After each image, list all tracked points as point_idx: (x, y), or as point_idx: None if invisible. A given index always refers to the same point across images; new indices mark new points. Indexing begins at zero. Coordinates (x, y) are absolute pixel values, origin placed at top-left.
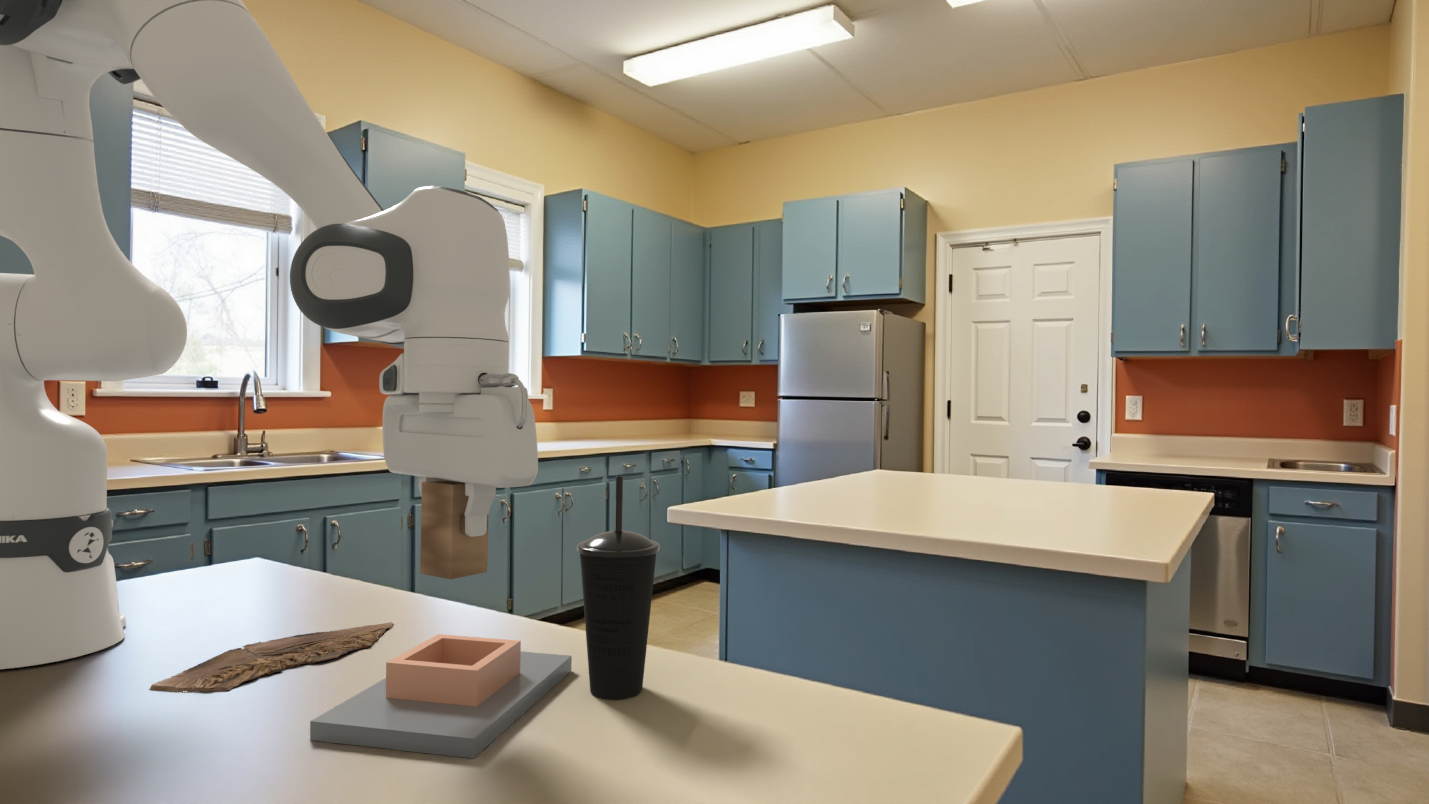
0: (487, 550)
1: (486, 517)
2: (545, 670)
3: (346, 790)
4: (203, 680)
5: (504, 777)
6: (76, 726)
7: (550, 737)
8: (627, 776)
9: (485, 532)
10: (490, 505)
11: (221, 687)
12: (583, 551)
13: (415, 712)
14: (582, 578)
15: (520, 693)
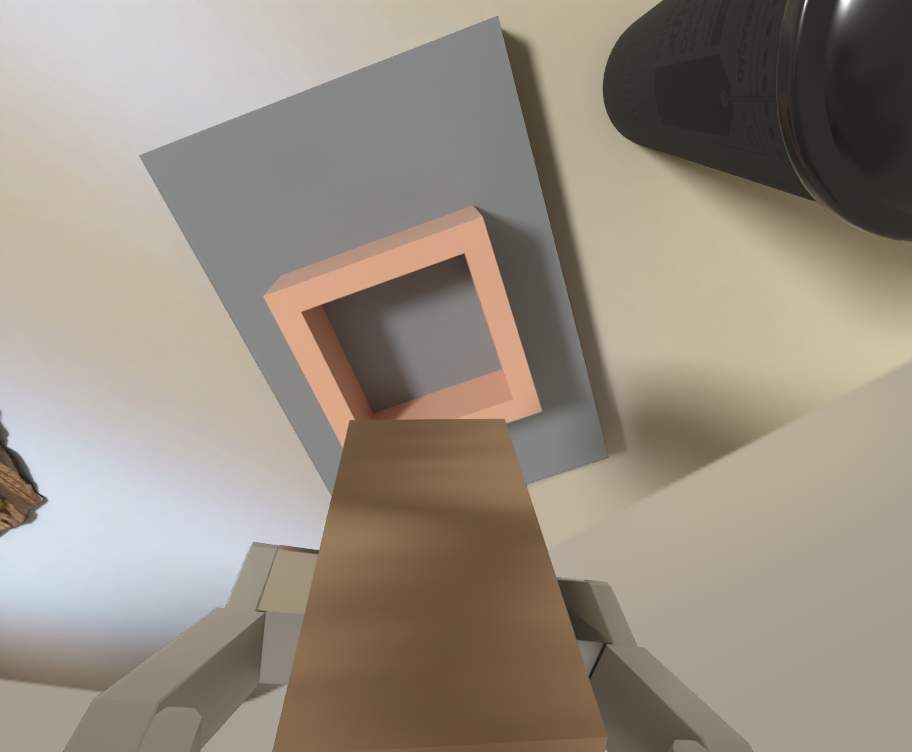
0: (517, 460)
1: (632, 635)
2: (511, 157)
3: None
4: None
5: (668, 452)
6: (63, 645)
7: (657, 336)
8: (819, 369)
9: (606, 583)
10: (688, 693)
11: (30, 507)
12: (866, 231)
13: None
14: (753, 166)
15: (555, 296)
